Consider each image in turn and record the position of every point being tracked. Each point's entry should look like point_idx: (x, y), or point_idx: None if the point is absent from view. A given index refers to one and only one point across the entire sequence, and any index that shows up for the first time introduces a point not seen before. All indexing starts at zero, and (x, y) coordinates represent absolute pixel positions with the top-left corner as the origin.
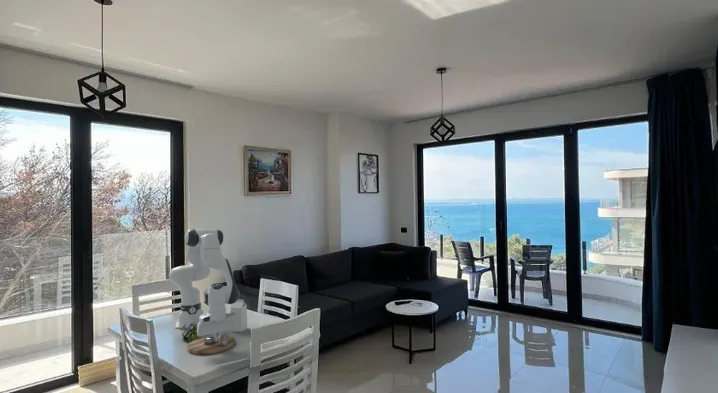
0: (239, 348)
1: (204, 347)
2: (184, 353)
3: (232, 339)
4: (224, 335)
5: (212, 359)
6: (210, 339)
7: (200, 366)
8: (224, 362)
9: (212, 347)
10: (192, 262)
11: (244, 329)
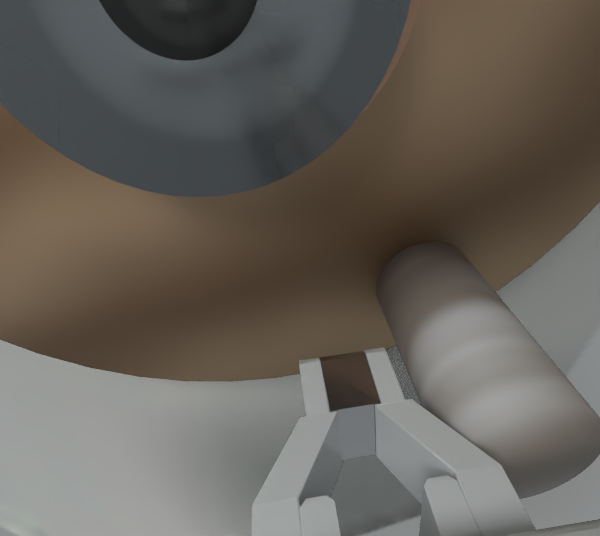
0: (594, 249)
1: (88, 232)
2: None
3: None
4: (519, 497)
5: (241, 427)
6: (181, 188)
7: (141, 509)
8: (340, 494)
9: (239, 283)
10: None
11: None
